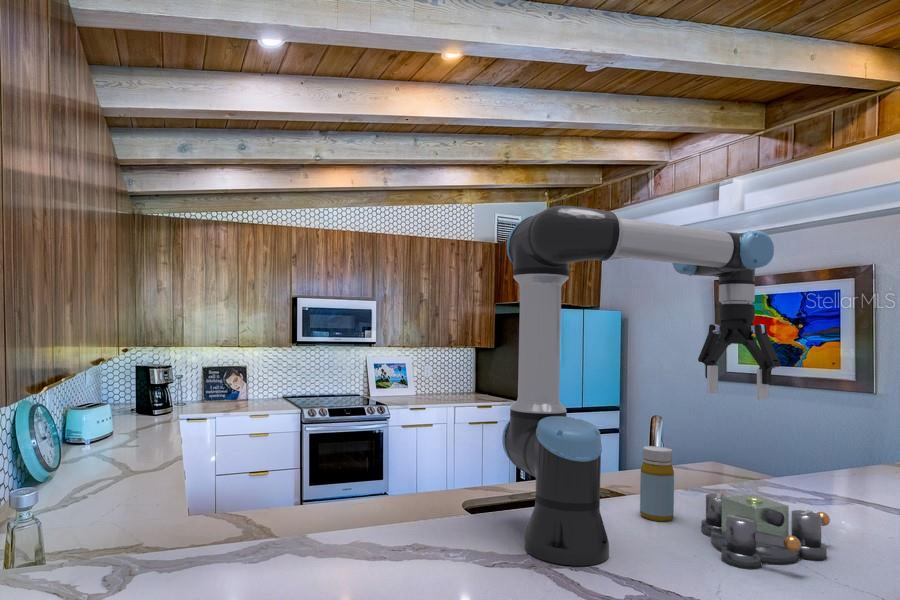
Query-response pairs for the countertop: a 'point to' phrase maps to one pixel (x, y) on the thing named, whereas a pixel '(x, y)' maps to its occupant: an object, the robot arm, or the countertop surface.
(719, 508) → the foot screw
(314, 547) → the countertop surface
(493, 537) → the countertop surface
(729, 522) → the foot screw
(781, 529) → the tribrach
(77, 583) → the countertop surface
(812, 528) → the foot screw
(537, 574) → the countertop surface
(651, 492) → the bottle
